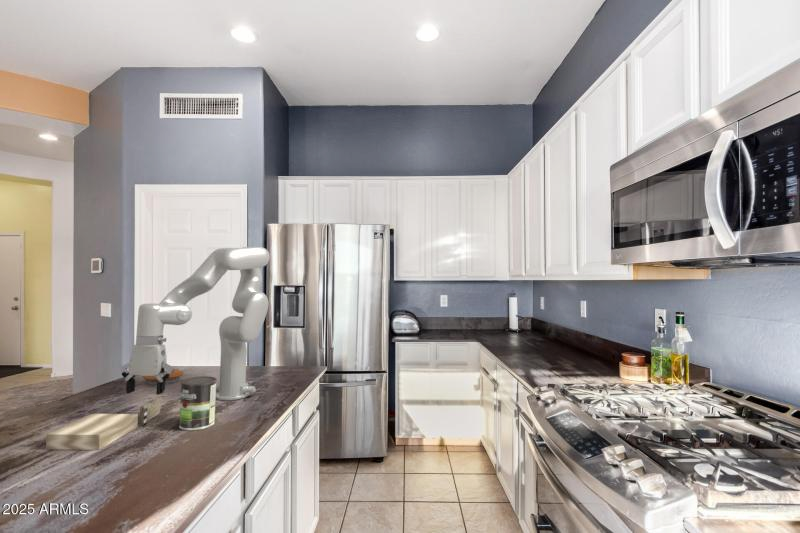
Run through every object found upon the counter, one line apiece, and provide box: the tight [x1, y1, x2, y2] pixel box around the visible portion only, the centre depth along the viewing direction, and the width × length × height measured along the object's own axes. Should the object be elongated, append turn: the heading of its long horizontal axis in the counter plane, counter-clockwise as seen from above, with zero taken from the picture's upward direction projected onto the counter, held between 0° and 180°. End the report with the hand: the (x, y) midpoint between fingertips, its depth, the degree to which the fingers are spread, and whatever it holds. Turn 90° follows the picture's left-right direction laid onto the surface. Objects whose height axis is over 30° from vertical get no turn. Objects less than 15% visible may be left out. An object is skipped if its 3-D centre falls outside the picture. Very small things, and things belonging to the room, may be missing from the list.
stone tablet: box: [138, 396, 163, 427], centre depth 128 cm, size 6×4×12 cm
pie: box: [141, 368, 184, 386], centre depth 172 cm, size 15×16×5 cm
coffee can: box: [178, 375, 218, 431], centre depth 124 cm, size 10×10×14 cm
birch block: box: [45, 413, 139, 451], centre depth 113 cm, size 14×16×4 cm
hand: (145, 393), depth 128 cm, fingers open, 9 cm apart
